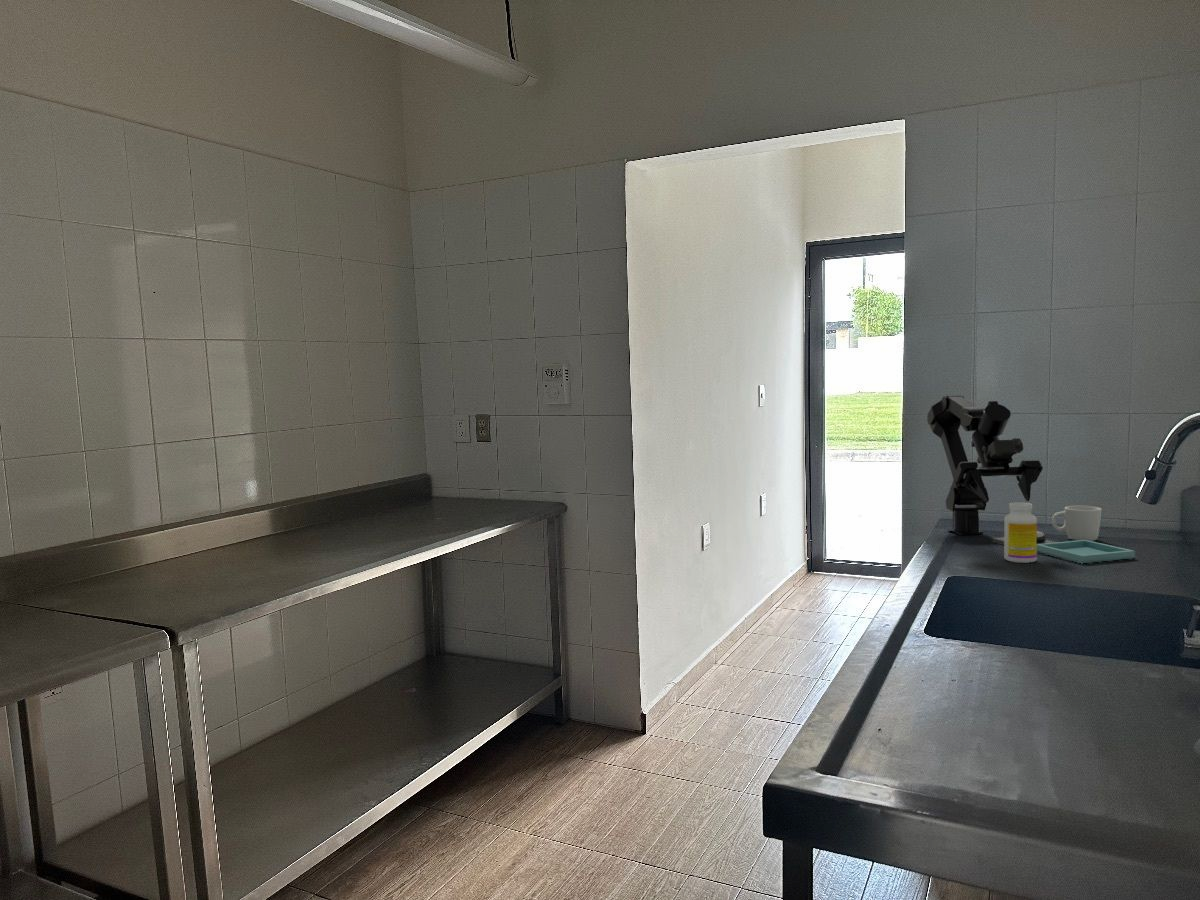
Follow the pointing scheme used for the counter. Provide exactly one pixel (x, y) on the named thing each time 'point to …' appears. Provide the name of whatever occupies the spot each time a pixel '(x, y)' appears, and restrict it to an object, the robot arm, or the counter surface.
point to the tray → (1084, 551)
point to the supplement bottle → (1020, 533)
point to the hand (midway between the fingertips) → (1008, 500)
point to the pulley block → (1040, 539)
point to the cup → (1080, 522)
